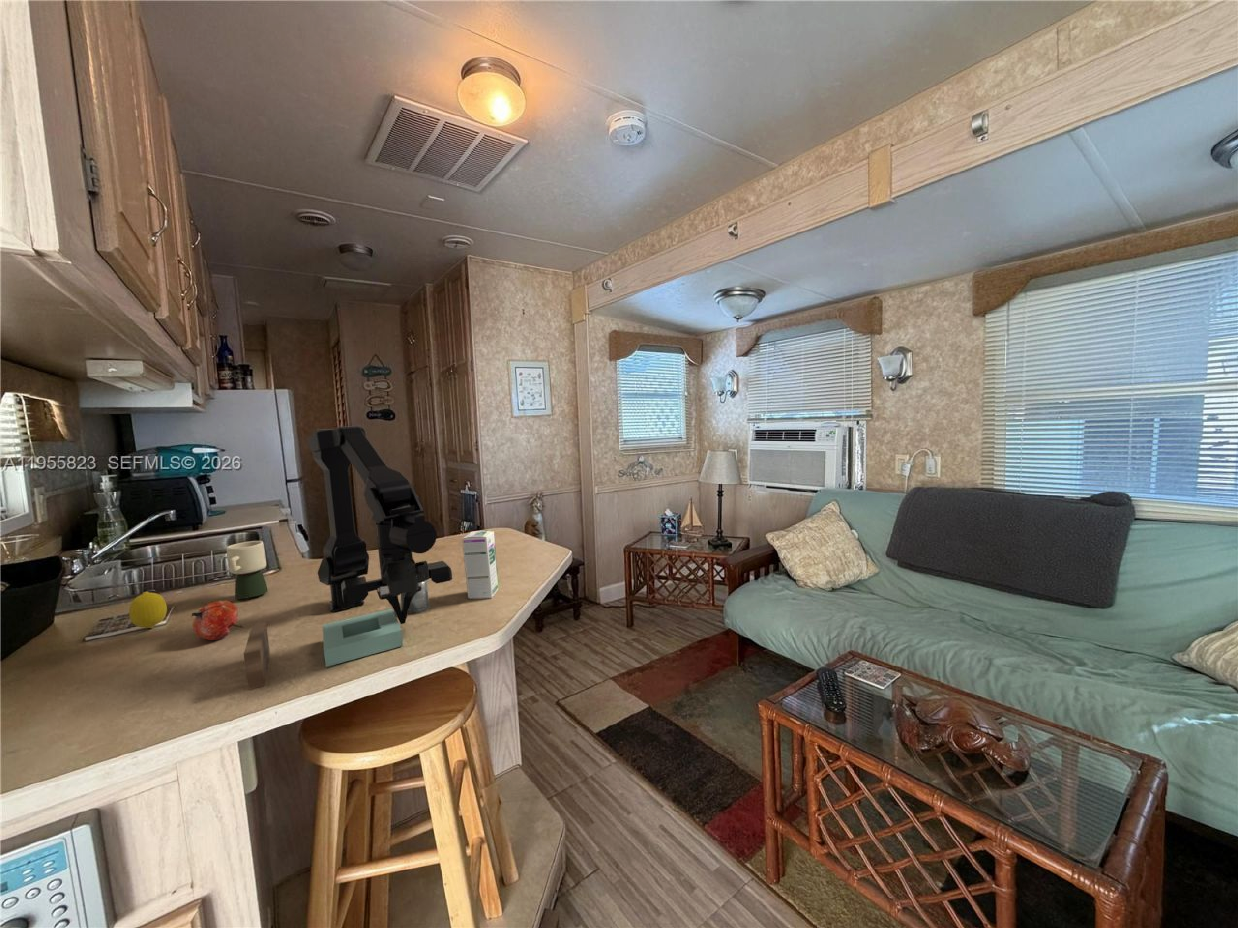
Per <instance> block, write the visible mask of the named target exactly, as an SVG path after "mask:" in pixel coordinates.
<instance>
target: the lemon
mask: <svg viewBox="0 0 1238 928" xmlns="http://www.w3.org/2000/svg"><path fill="white" fill-rule="evenodd" d="M167 612H168V607H167V603H166V601H165V598H164V597H163V596H162V595H160V594H158V593H156V592H149V591H143V592H142V593H141V594H140V595H138V596H136V597H135V598H134V599H133V600H132V601H131V603H130V605H129V608H128V615H129V620H130V621H131V622H132V624H134V625H135V626H136V627H139V628H145V629H146V628H147V629H148V628H150V627H153V626H155V627H156V625H158V624H159V623H161V622H162V621H163V620H164V619H165V617H166V615H167Z"/></svg>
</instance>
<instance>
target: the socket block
mask: <svg viewBox="0 0 1238 928" xmlns="http://www.w3.org/2000/svg"><path fill="white" fill-rule="evenodd" d="M400 625H401V624H400V622H399V620H398V617H397V615H396V613H395V611H394V609H393V608H387V609H385V610H379V611H375V612H371V613H367V614H362V615H358V616H354V617H350V618H347V619H342V620H337V621H334V622H329V623H325V624H322V636H323V653H324V654H323V655H324V662H325V663H324V664H325V668H328V667H332V666H335V665H339V664H342V663H345V662H349V661H353V660H357V659H361V658H365V657H368V656H372V655H374V654H378V653H382V652H385V651H389V650H392V649H396V648H399V647H400V648H401V647H403V646H404V644H403V643H404V641H403V632H402V628H401V626H400Z"/></svg>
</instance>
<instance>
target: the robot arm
mask: <svg viewBox="0 0 1238 928" xmlns="http://www.w3.org/2000/svg"><path fill="white" fill-rule="evenodd" d="M307 439H308V440H307V444H308V448H309V450H310V451H311V454H312V459H313V460H314V461H315V463H316V464H317V465H318V466H319V467H320V469H322V471H323V478H324V488H325V497H326V499H325V500H326V504H327V506H326V507H327V515H328V525H329V538H328V539H327V541H326V543H325V545H324V546H323V549H322V551H323V553H322V554H323V558H322V560H321V563H320V565H319V567H318V571H317V575H318V576H317V577H318V581H319V582H320V583H322V584H324V585H325V586H329V590H330V598H331V600H330V601H329V608H330V612H332V613H333V612H336V611H341V610H346V609H350V608H354V607H359V606H363V605H365V599H366V598H367V597H368V596H369V593H370V592H373V591H376V593H377V596H378V598H379V599H380V600H382V601H383V600H387V601H388V603H389V605H390V606H391V607H392V609H393V611H394V614H395V616H396V618H397V620H398V623H399V625H404V624H406V621H407V617H408V613H409V607H410V603H411V601H412V598H413V596H414V595H415V594H416V592H419V591H421V590H422V588H421V586H420V583H421V582H425V580H427V581H429V580H431V582H433V583H434V584H440V583H441V584H442V583H446V582H450V581H452V580H453V574H452V571H453V570H452V567H451V566H450V565H449V564H447V563H446V562H445V561H444V560H440V561H434V562H430V563H428V561H427V560H422V561H418V562H415V560H414V558H413V553H414V554H425V553H426V552H429V551H430V550H431V549H432V548H433V547H434V545H435V544H436V542H437V538H438V537H437V536H438V535H437V534H438V533H437V530H436V528H435V526H434V525H433V524H432V523H431V522H429V521H426V519H425V518H426V517H425V514H424V512H425V511H424V508H423V503H422V500H421V499H420V497H419V496H418V494H417V493H416V491H415V489H414V486H413V485H412V484H411V481H409V480H408V479H407V478H406V476H404V475H403V474H402V473H401V471H397V470H395V469H393V468H390V467H388V465H387V464H386V462H385V461H384V460H383V458H382V457H381V455H380V454H379V453H378V452H377V451H376V448H375V447H374V446H373V445H372V443H371V442H370V441H369V439H368V438H367V436H366V432H365V429H364V428H363V427H361V426H359V425H351V426H338V427H336V428H324V429H323V428H322V429H315V430H314V431H313V433H312V434H311V435H309V436H308V438H307ZM351 465H352V466H353V468H354V469H355V471H356V472H357V473H358V475H359V477H360V478H361V480H362V481H363V483H364V485H365V486H364V489H363V490H364V492H363V497H364V498H365V499H364V500H365V503H366V505H367V506H368V508H369V509H370V511H371V513H372V514H373V515H372V516H371V521H374V522H375V527H376V528H375V530H376V540H377V549H378V559H379V568H380V578H377V579H373V580H368V581H367V579H366V577H365V576H366V575H368V573H369V561H370V554H369V552H368V551H367V543H366V542H365V540H362V539H361V538H360V537H359V536H358V535H357V533H356V527H355V518H354V516H355V515H354V509H353V506H354V505H353V499H352V498H353V497H352V487H351V481H350V479H351V478H350V467H351ZM364 575H365V576H364ZM360 576H361V577H360ZM399 596H400V602H399Z"/></svg>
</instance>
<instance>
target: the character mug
mask: <svg viewBox="0 0 1238 928" xmlns="http://www.w3.org/2000/svg"><path fill="white" fill-rule="evenodd" d="M225 549H226V558H227V561H228V564H229V566H228V572H229V573H231V574H235V575H236V577H235V583H234V584H235V585H234V588H235V589H234V593H235V594H234V596H235V597H234V598H235V599H236V600H242V599H247V600H250V599H251V598H253V597H259V596H262V595H265V594H266V593H268V591H269V590H268V585H267V582H266V579H265V576H264V573H263V572H262V570H264V569H265V568H266V567H267V559H266V551H265V545H264V541H263V540H251V541H243V542H238V543H234V544H231V545H228V546H226V548H225Z"/></svg>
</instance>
